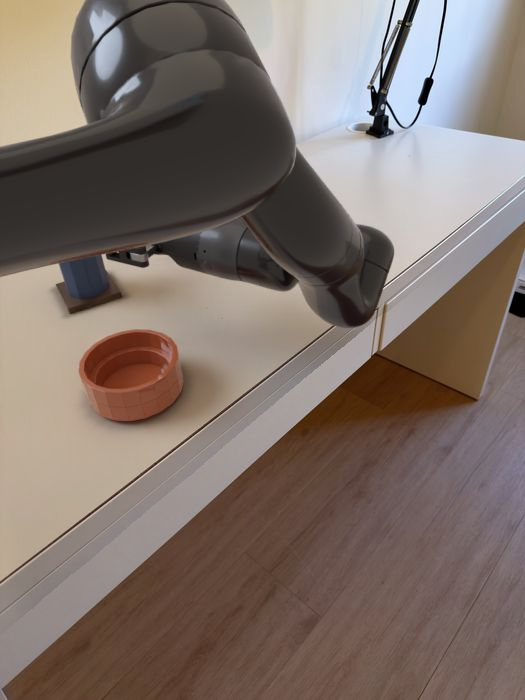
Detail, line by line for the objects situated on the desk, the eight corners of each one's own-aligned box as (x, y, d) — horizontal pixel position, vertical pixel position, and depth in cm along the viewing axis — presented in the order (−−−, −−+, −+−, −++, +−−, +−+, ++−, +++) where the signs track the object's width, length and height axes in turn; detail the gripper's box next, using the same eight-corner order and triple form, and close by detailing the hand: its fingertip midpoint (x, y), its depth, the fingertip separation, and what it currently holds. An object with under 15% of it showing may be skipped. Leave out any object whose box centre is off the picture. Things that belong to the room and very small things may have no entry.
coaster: (69, 314, 77) (67, 308, 76) (57, 289, 82) (55, 283, 82) (122, 297, 80) (121, 291, 79) (106, 274, 85) (105, 269, 84)
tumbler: (73, 303, 77) (49, 227, 70) (64, 284, 81) (39, 211, 74) (113, 291, 79) (94, 216, 72) (102, 273, 84) (82, 201, 76)
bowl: (105, 439, 58) (94, 406, 54) (79, 380, 65) (68, 349, 62) (199, 400, 62) (193, 368, 58) (163, 349, 69) (157, 318, 66)
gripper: (249, 190, 64) (145, 170, 70) (177, 240, 54) (65, 212, 61) (252, 246, 68) (154, 223, 75) (187, 301, 59) (82, 268, 66)
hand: (115, 218), depth 68 cm, fingers open, 8 cm apart
